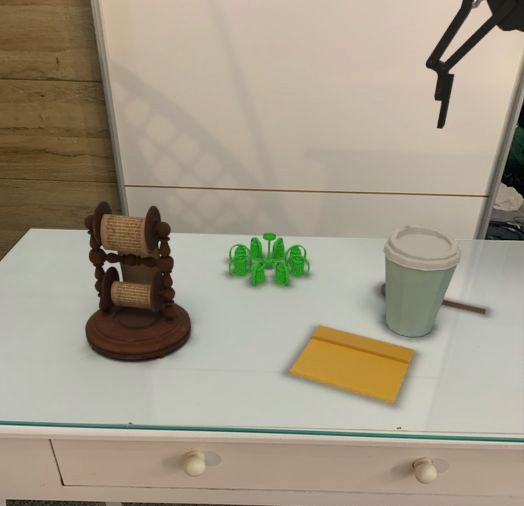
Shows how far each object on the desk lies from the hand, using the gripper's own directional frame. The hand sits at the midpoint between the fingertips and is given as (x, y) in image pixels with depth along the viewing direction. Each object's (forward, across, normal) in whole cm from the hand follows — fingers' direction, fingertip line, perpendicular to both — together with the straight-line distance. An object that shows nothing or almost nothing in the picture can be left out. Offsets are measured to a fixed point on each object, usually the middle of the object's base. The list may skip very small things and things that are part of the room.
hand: (491, 132), depth 75 cm
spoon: (+27, -4, 0) cm, 28 cm away
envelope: (+27, -10, -23) cm, 37 cm away
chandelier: (+27, -32, -2) cm, 42 cm away
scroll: (+27, -40, -30) cm, 57 cm away
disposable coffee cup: (+27, -5, -10) cm, 30 cm away
